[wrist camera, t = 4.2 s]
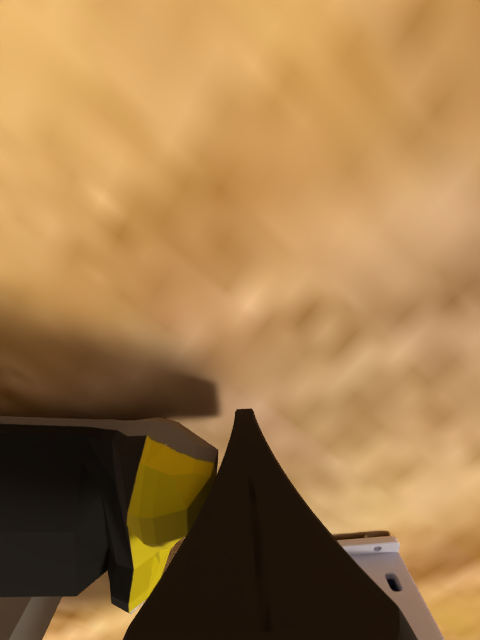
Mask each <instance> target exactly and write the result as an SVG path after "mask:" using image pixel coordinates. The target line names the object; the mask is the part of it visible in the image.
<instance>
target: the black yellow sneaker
mask: <svg viewBox="0 0 480 640" xmlns="http://www.w3.org/2000/svg"><path fill="white" fill-rule="evenodd" d="M217 465H218V449H216V448H215V447H213V446H212V445H210V444H209V443H207V442H206V441H205V440H203V439H202V438H200V437H199V436H197V435H196V434H194V433H193V432H192V431H190V430H189V429H187V428H186V427H184V426H183V425H181V424H180V423H178V422H175V421H171V420H168V419H165V418H161V417H155V418H148V419H141V420H115V419H70V418H42V417H15V416H0V597H54V596H77V595H78V594H80V593H81V592H82V591H83V590H84V589H86V588H87V587H88V586H89V585H90V584H92V583H93V582H94V581H95V580H96V579H98V578H99V577H100V576H101V575H102V574H104V573H105V572H106V571H107V570H108V576H109V582H110V592H111V603H112V604H114V605H116V606H117V607H119V608H121V609H123V610H124V611H126V612H128V613H130V614H132V613H133V612H134V611H135V610H136V609H137V608H138V607H139V606H140V605H141V604H142V603H143V602H144V600H146V599H147V598H148V597H149V595H150V594H151V592H152V590H153V589H154V587H155V586H156V584H157V583H158V581H159V579H160V578H161V576H162V573H163V570H164V567H165V564H166V561H167V558H168V555H169V552H170V549H171V548H172V547H173V546H174V545H175V544H176V543H177V542H178V541H179V540H181V539H183V538H184V537H186V536H187V534H188V532H189V531H190V529H191V527H192V525H193V523H194V521H195V519H196V518H197V516H198V514H199V512H200V510H201V508H202V506H203V504H204V502H205V500H206V498H207V496H208V494H209V492H210V489H211V487H212V485H213V483H214V480H215V478H216V476H217Z"/></svg>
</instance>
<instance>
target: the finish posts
mask: <svg viewBox="0 0 480 640" xmlns="http://www.w3.org/2000/svg"><path fill="white" fill-rule="evenodd" d="M61 598H62V596H54V597H0V640H42V639H43V637H44V635H45V632H46V630H47V628H48V626H49V624H50V622H51V619H52V617H53V615H54V613H55V611H56V609H57V606H58V604H59V602H60V600H61Z"/></svg>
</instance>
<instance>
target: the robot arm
mask: <svg viewBox="0 0 480 640" xmlns="http://www.w3.org/2000/svg"><path fill="white" fill-rule="evenodd" d="M399 548H400V543H399V541H398V540H397V538H396V537H394V536H382V537H370V538H358V539H346V540H336V539H335V538H334V537H333V536H332V534H331V533H330V532H329V531H328V530H327V528H326V527H325V526H324V525H323V524H322V522H321V521H320V520H319V519H318V518H317V516H316V515H315V514H314V513H313V512H312V510H311V509H310V508H309V506H308V505H307V504H306V502H305V501H304V500H303V498H302V497H301V496H300V494H299V493H298V492H297V490H296V489H295V487H294V486H293V485H292V483H291V482H290V480H289V479H288V477H287V476H286V474H285V473H284V471H283V469H282V468H281V466H280V465H279V463H278V461H277V460H276V458H275V456H274V455H273V453H272V451H271V449H270V447H269V446H268V444H267V442H266V440H265V438H264V436H263V434H262V432H261V430H260V428H259V425H258V423H257V420H256V418H255V415H254V411H253V410H252V409H237V411H236V412H235V419H234V425H233V429H232V433H231V437H230V440H229V443H228V446H227V449H226V453H225V455H224V458H223V461H222V463H221V466H220V468H219V471H218V473H217V476H216V478H215V480H214V483H213V485H212V487H211V489H210V492H209V494H208V496H207V498H206V500H205V502H204V504H203V506H202V508H201V510H200V512H199V514H198V516H197V518H196V519H195V521H194V523H193V525H192V527H191V529H190V531H189V532H188V534H187V536H186V538H185V539H184V541H183V543H182V544H181V546H180V548H179V549H178V551H177V553H176V554H175V556H174V558H173V559H172V561H171V563H170V564H169V566H168V568H167V569H166V571H165V573H164V574H163V576H162V577H161V579H160V580H159V582H158V583H157V585H156V586H155V588H154V589H153V591H152V592H151V594H150V595H149V597H148V598H147V600H146V601H145V603H144V604H143V606H142V607H141V609H140V610H139V612H138V613H137V615H136V616H135V618H134V619H133V621H132V622H131V624H130V625H129V627H128V629H127V631H126V634H125V636H124V638H123V640H445V639H444V637H443V635H442V633H441V631H440V630H439V628H438V626H437V624H436V622H435V620H434V618H433V616H432V614H431V613H430V611H429V609H428V607H427V605H426V603H425V601H424V599H423V597H422V596H421V594H420V592H419V590H418V588H417V586H416V584H415V582H414V581H413V579H412V577H411V575H410V573H409V571H408V569H407V567H406V565H405V564H404V562H403V560H402V558H401V556H400V554H399V553H398V551H399Z"/></svg>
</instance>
